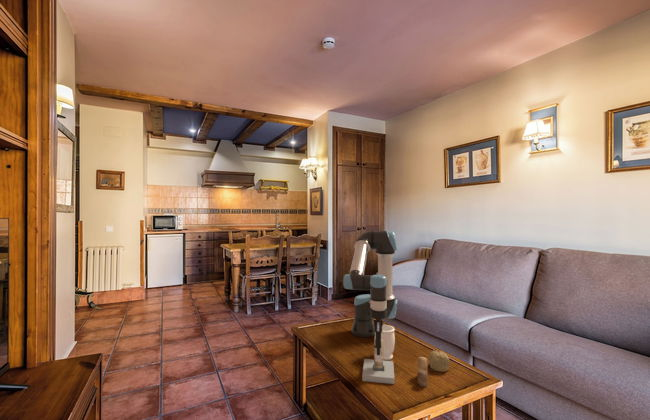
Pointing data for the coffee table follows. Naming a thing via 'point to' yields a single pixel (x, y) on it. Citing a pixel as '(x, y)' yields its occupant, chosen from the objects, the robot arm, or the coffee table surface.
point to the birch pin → (380, 364)
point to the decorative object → (439, 361)
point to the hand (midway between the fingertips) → (378, 358)
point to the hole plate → (378, 372)
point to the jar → (387, 341)
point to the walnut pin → (422, 378)
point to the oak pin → (422, 364)
